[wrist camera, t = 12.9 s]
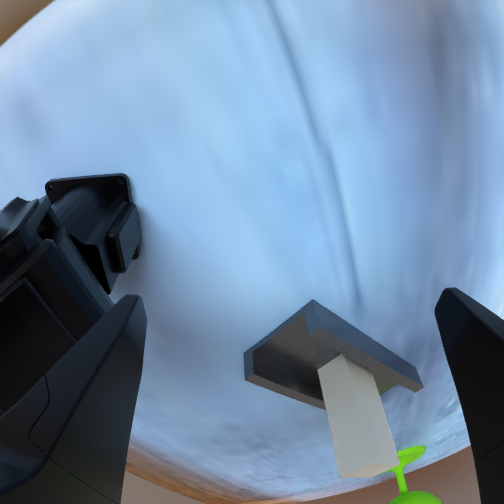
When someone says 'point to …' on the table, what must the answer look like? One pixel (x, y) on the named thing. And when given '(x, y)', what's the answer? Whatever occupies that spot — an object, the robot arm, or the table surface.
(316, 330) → the bottom track
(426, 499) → the wineglass
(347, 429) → the cream rectangular block
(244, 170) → the table surface
